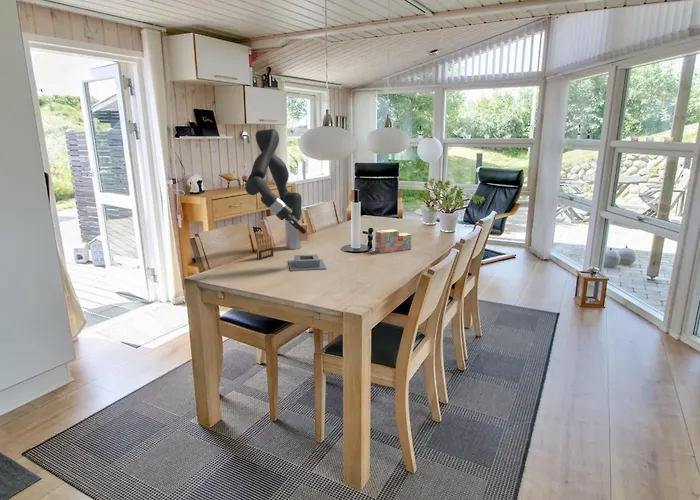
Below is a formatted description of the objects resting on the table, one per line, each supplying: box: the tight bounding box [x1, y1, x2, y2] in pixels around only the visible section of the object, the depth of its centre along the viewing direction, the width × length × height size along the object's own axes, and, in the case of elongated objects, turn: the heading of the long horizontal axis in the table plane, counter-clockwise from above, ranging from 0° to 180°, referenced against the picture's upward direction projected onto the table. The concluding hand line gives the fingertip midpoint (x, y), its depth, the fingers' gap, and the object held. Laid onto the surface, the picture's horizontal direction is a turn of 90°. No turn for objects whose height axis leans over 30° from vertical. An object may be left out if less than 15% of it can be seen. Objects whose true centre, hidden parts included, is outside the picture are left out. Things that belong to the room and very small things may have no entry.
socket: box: [287, 253, 327, 272], centre depth 230 cm, size 18×18×4 cm
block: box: [298, 222, 308, 242], centre depth 226 cm, size 4×4×8 cm
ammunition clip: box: [256, 235, 274, 261], centre depth 243 cm, size 11×2×12 cm, turn 143°
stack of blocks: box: [374, 228, 412, 254], centre depth 262 cm, size 21×6×12 cm, turn 117°
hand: (304, 231), depth 226 cm, fingers closed on block, 4 cm apart
